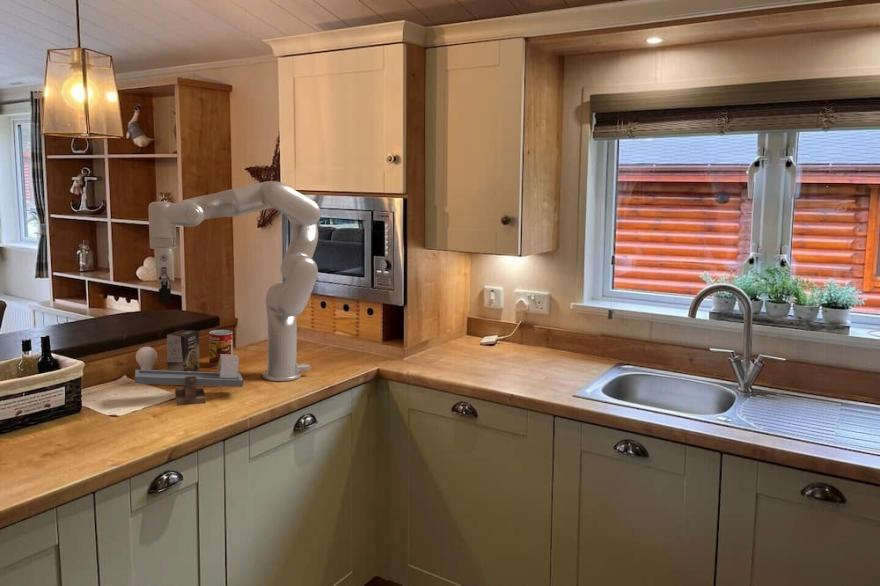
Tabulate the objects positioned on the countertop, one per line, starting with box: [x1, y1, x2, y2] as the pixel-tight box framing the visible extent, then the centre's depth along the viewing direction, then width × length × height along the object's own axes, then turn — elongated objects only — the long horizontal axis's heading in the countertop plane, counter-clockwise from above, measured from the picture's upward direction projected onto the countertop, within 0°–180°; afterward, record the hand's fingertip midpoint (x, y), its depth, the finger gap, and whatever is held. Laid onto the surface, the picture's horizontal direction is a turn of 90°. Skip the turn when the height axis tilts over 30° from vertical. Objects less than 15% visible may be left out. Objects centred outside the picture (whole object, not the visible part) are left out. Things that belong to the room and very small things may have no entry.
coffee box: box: [166, 329, 200, 387], centre depth 227 cm, size 9×6×16 cm
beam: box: [133, 369, 244, 388], centre depth 210 cm, size 30×8×2 cm, turn 113°
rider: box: [217, 354, 240, 379], centre depth 214 cm, size 5×5×7 cm
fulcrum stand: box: [174, 367, 207, 406], centre depth 210 cm, size 8×13×8 cm, turn 22°
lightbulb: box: [135, 346, 158, 370], centre depth 227 cm, size 6×6×11 cm
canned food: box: [208, 329, 234, 369], centre depth 247 cm, size 8×8×12 cm
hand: (165, 299), depth 215 cm, fingers open, 9 cm apart
